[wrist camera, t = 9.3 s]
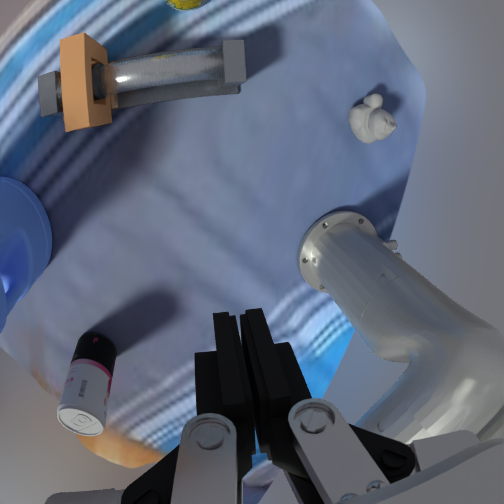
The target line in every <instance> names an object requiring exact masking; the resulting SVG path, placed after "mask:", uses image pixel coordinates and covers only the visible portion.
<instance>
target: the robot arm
mask: <svg viewBox="0 0 504 504" xmlns="http://www.w3.org/2000/svg"><path fill="white" fill-rule="evenodd" d="M323 223H324V224H323ZM393 249H397V242H396V240H390V241H387V242H384V241H383V240H382V239H380V238H379V237H378V236H377V232H376V230H375V228H374V226H373V225H372V223H371V222H370V221H369V220H368V219H367V218H365V217H364V216H362V215H361V214H359V213H356V212H354V211H347V210H343V211H336V212H333V213H329V214H327V215H326V216H324V217H322V218H320V219H319V220H318V221H316V222H315V223H314V224H313V225H312V226H311V227H310V228H309V230H308V231H307V233H306V234H305V236H304V237H303V239H302V242H301V244H300V247H299V251H298V266H299V270H300V272H301V275H302V276H303V278H304V280H305V281H306V282H307V283H308V284H309V285H310V286H311V287H312V288H314V289H316V290H318V291H320V292H326V293H329V295H330V296H331V297H332V299H333V300H334V301H335V303H336V304H337V305H338V307H339V308H340V309H341V311H342V312H343V313H344V315H345V316H346V318H347V319H348V320H349V322H350V323H351V324H352V326H353V327H354V329H355V330H356V331H357V333H358V334H359V335H360V337H361V338H362V339H363V341H364V342H365V344H366V345H367V347H368V348H369V349H370V350H371V351H372V352H373V353H374V354H375V355H377V356H378V357H381V358H382V359H384V360H388V361H392V362H400V363H409V365H408V367H407V369H406V370H405V371H404V372H403V374H402V375H401V376H400V377H399V378H398V380H397V381H396V382H395V383H394V385H392V387H391V388H390V389H389V390H388V391H387V392H386V393H385V394H384V395H383V396H382V397H381V398H380V399H379V400H378V401H377V402H376V403H375V404H374V405H373V406H372V407H371V408H370V409H369V410H368V411H367V412H366V413H365V414H364V415H363V416H362V417H361V418H360V419H359V420H358V421H357V423H356V424H355V425H351V424H348V423H347V422H346V420H345V419H344V417H343V416H342V415H341V413H340V412H339V410H338V409H337V408H336V407H335V406H334V405H333V404H332V403H330V402H328V401H326V400H323V399H317V398H312V397H311V394H310V392H309V389H308V387H307V384H306V382H305V379H304V377H303V374H302V372H301V369H300V367H299V364H298V362H297V360H296V357H295V355H294V352H293V350H292V347H291V345H290V343H289V342H284V343H277V344H274V343H273V340H272V337H271V334H270V331H269V328H268V325H267V322H266V319H265V316H264V313H263V310H262V308H258V309H249V310H246V311H245V314H242V315H240V326H241V341H240V336H239V331H238V326H237V321H236V316H235V315H232V316H229V312H221V313H213V320H214V330H215V340H216V349H217V351H209V352H198V353H195V385H196V407H197V416H195V417H193V418H192V419H190V420H189V421H188V422H187V423H186V424H185V425H184V428H183V430H182V434H181V440H180V444H179V445H178V446H177V447H176V448H175V449H173V450H172V451H171V452H170V453H169V454H168V455H166V456H165V457H164V458H163V459H161V460H160V461H159V462H158V463H157V464H156V465H154V466H153V467H152V468H151V469H149V470H148V471H147V472H145V473H144V474H143V475H142V476H140V477H139V478H138V479H137V480H135V481H134V482H133V483H132V484H130V485H129V486H128V487H127V488H126V489H124V490H115V489H114V488H112V489H103V490H93V491H80V492H61V493H56V494H53V495H51V496H50V497H48V499H47V500H46V502H45V504H243V477H244V476H245V475H246V474H247V473H248V472H249V470H250V469H251V468H252V456H251V455H253V454H256V447H255V430H256V435H257V439H258V444H259V448H260V452H261V453H267V456H268V460H272V462H273V464H274V465H276V466H278V467H279V468H281V469H283V471H284V475H285V477H286V479H287V481H288V483H289V485H290V487H291V489H292V491H293V493H294V495H295V497H296V499H297V501H298V503H299V504H504V333H503V332H501V331H500V330H499V329H497V328H496V327H494V326H493V325H491V324H490V323H488V322H486V321H485V320H483V319H481V318H480V317H478V316H476V315H475V314H473V313H471V312H470V311H468V310H467V309H465V308H464V307H463V306H461V305H460V304H458V303H457V302H455V301H454V300H452V299H451V298H450V297H449V296H447V295H446V294H445V293H443V292H442V291H441V290H440V289H438V288H437V287H436V286H435V285H433V284H432V283H431V282H430V281H428V280H427V279H426V278H425V277H424V276H422V275H421V274H420V273H419V272H418V271H416V270H415V269H414V268H412V267H411V266H410V265H409V264H408V263H406V262H405V261H404V260H403V259H402V256H401V254H400V253H394V252H392V251H391V250H393ZM241 342H242V345H241Z"/></svg>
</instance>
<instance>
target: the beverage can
mask: <svg viewBox="0 0 504 504" xmlns="http://www.w3.org/2000/svg"><path fill="white" fill-rule="evenodd" d="M116 354H117V352H116V348H115V346H114V344H113V343H112V342H111V341H110V340H109V339H107V338H106V337H104V336H102V335H99V334H95V333H89V334H85V335H83V336H82V337H80V339H79V340H78V343H77V346H76V349H75V352H74V355H73V358H72V361H71V364H70V367H69V370H68V374H67V377H66V380H65V383H64V387H63V390H62V394H61V397H60V401H59V405H58V409H57V413H58V414H57V417H58V420H59V421H60V423H61V424H62V425H63V426H64V427H65V428H67V429H68V430H70V431H72V432H74V433H77V434H80V435H84V436H96V435H99V434H101V433H102V431H103V429H104V427H105V422H106V414H107V407H108V401H109V394H110V388H111V382H112V376H113V370H114V365H115V360H116Z"/></svg>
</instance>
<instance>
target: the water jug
mask: <svg viewBox="0 0 504 504" xmlns="http://www.w3.org/2000/svg"><path fill="white" fill-rule="evenodd" d="M51 250H52V232H51V226H50V222H49V219H48V216H47V213H46V211H45V209H44V207H43V205H42V203H41V202H40V200H39V199H38V197H37V196H36V195H35V193H34V192H33V191H32V190H31V189H30V188H28V187H27V186H26V185H25V184H23V183H22V182H20V181H18V180H16V179H13V178H9V177H0V333H1V332H2V330H3V328H4V326H5V323H6V318H7V315H8V314H9V312H10V311H11V309H12V308H13V306H14V305H15V304H16V303H17V302H18V301H20V300H21V299H22V298H23V297H24V296H25V295H26V293H27V292H28V290H29V289H30V288H31V286H32V285H33V283H34V282H35V281H36V280H37V279H38V278H39V277H40V276H41V274H42V273H43V271H44V270H45V268H46V266H47V264H48V262H49V259H50V256H51Z"/></svg>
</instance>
